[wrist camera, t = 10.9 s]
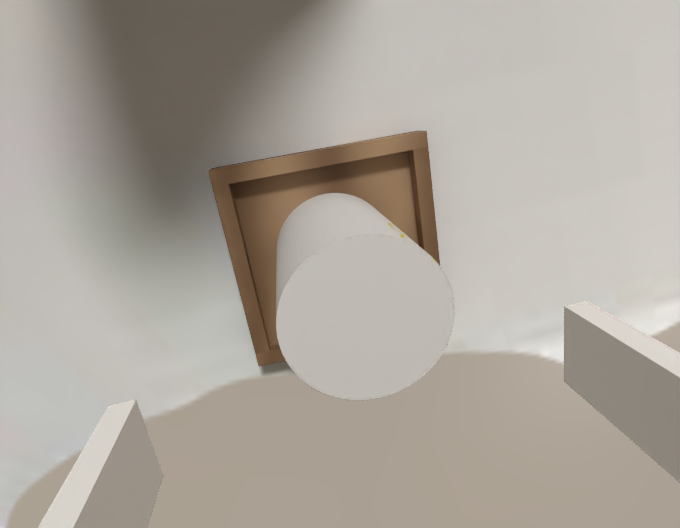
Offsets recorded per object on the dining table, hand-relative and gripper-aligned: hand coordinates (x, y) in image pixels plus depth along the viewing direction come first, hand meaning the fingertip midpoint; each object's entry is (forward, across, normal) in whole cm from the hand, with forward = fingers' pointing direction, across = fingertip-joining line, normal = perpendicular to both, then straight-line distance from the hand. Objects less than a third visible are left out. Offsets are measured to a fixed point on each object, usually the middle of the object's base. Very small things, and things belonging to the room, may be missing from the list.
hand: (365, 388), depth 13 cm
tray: (+19, +2, -1) cm, 19 cm away
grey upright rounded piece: (+19, +1, -1) cm, 19 cm away
